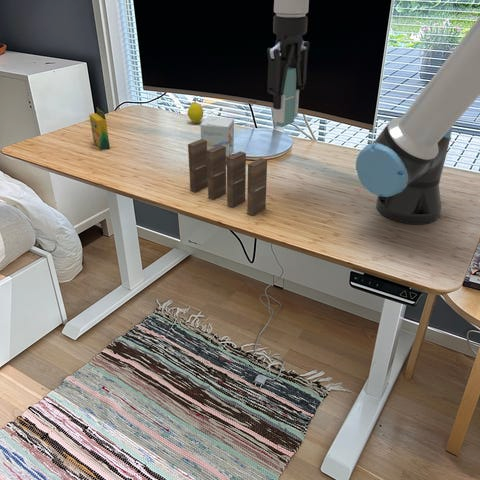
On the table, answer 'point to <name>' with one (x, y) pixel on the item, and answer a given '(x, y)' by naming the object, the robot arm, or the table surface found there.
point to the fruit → (195, 112)
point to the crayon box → (99, 130)
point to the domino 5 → (289, 97)
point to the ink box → (218, 133)
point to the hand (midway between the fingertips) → (285, 118)
